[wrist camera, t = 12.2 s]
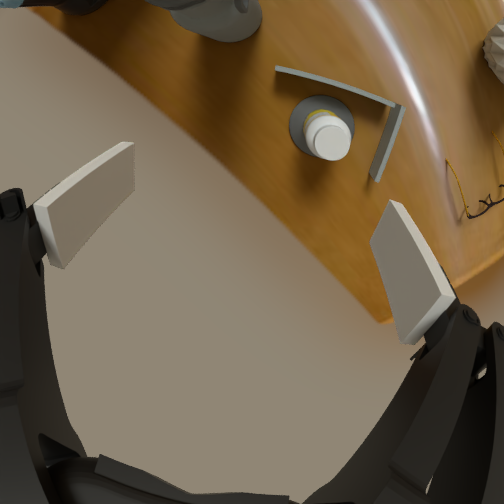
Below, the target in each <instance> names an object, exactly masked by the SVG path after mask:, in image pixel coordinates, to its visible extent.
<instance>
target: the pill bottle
mask: <svg viewBox="0 0 504 504" xmlns="http://www.w3.org/2000/svg"><path fill="white" fill-rule="evenodd" d="M303 132H304V135H305V139H306V142H307V145H308V147H309V149H310V150H311V152H312V153H313V154H315V155H316V156H318V157H320V158H322V159H326V160H331V161H335V160H339V159H341V158H343V157H344V156H345V155H346V154H347V153H348V151H349V148H350V143H351V133H350V130H349V128H348V126H347V125H346V124H345V123H344V122H343V121H342V120H341V119H340V118H339V117H338V116H337V115H336V114H334V113H333V112H331V111H329V110H325V109H317V110H314V111H312V112H310V113H309V114H308V115H307V116H306V118H305V120H304V123H303Z"/></svg>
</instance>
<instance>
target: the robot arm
mask: <svg viewBox="0 0 504 504" xmlns="http://www.w3.org/2000/svg"><path fill="white" fill-rule="evenodd" d="M107 1H108V0H0V8H17V7H32V6H53V7H55V8H57V9H58V10H60V11H62V12H64V13H65V14H68V15H85V14H89V13H91V12H93V11H95V10H97V9H98V8H100V7H101V6H102V5H103V4H105V3H106V2H107ZM133 191H134V143H132V142H120V143H119V144H117V145H115V146H114V147H112V148H111V149H109V150H107V151H106V152H104V153H102V154H101V155H99V156H98V157H96V158H95V159H93V160H92V161H90V162H89V163H87V164H86V165H84V166H83V167H81V168H80V169H78V170H77V171H75V172H74V173H73V174H71V175H70V176H69V177H67V178H66V179H64V180H63V181H62V182H60V183H58V184H57V185H55V186H54V187H53V188H52V189H51V190H49V191H48V192H46V193H45V195H43V196H41V197H40V198H39V199H38V200H37V201H35V202H34V203H33V204H32V205H31V206H29V207H28V208H26V205H25V200H24V196H23V191H22V189H20V188H13V189H9V190H7V191H5V192H3V193H1V194H0V504H299V503H296V502H294V501H291V500H289V496H285V495H283V496H282V495H265V494H253V493H243V492H241V493H240V492H239V493H237V492H235V493H232V492H231V493H210V494H192V493H188V492H186V491H184V490H182V489H180V488H178V487H176V486H174V485H172V484H170V483H168V482H166V481H164V480H162V479H161V478H159V477H157V476H154V475H152V474H150V473H148V472H145V471H143V470H140V469H137V468H135V467H132V466H129V465H126V464H124V463H121V462H118V461H116V460H113V459H111V458H109V457H106V456H104V455H102V454H100V455H99V458H96V457H87V455H86V452H85V450H84V447H83V445H82V443H81V441H80V439H79V437H78V435H77V434H76V432H75V431H74V429H73V428H72V426H71V424H70V422H69V419H68V417H67V413H66V410H65V407H64V403H63V399H62V396H61V392H60V388H59V384H58V380H57V375H56V370H55V366H54V360H53V355H52V349H51V343H50V337H49V329H48V321H47V312H46V301H45V285H44V265H43V262H42V258H43V256H44V255H45V254H46V253H47V256H48V259H49V262H50V265H53V266H55V267H58V268H61V269H65V267H66V266H67V265H68V263H69V262H70V261H71V260H72V258H73V257H74V256H75V255H76V254H77V252H78V251H79V250H80V249H81V247H82V246H83V245H84V244H85V243H86V242H87V240H88V239H89V238H90V237H91V236H92V235H93V233H94V232H95V231H96V230H97V229H98V228H99V227H100V226H101V224H103V222H104V221H105V220H106V219H107V218H108V217H109V216H110V215H111V214H112V213H113V212H114V211H115V210H116V209H117V207H118V206H119V205H120V204H121V203H122V202H123V201H124V200H125V199H126V198H127V197H128V196H129V195H130V194H131V193H132V192H133ZM369 243H370V246H371V248H372V251H373V254H374V257H375V260H376V263H377V265H378V268H379V271H380V274H381V277H382V281H383V284H384V287H385V290H386V293H387V297H388V300H389V303H390V307H391V310H392V314H393V317H394V321H395V325H396V329H397V332H398V336H399V340H400V344H412V345H415V344H416V343H417V342H418V341H419V340H420V339H421V338H422V337H423V335H424V338H425V341H426V343H425V344H424V345H423V346H422V348H420V349H419V350H418V351H417V352H416V353H415V354H414V355H413V356H412V357H411V358H410V360H413V359H414V358H415V360H414V362H413V364H412V366H411V368H410V370H409V372H408V373H407V375H406V377H405V379H404V381H403V382H402V384H401V386H400V388H399V389H398V391H397V393H396V394H395V396H394V398H393V399H392V401H391V402H390V404H389V406H388V407H387V409H386V410H385V412H384V413H383V415H382V417H381V418H380V420H379V421H378V422H377V424H376V425H375V427H374V428H373V430H372V431H371V432H370V434H369V435H368V436H367V438H366V439H365V441H364V442H363V444H362V445H361V446H360V447H359V448H358V450H357V451H356V452H355V454H354V455H353V456H352V457H351V459H350V460H349V461H348V462H347V463H346V465H345V466H344V467H343V468H342V469H341V470H340V472H339V473H338V474H337V475H336V476H335V477H334V478H333V479H332V480H331V481H330V482H329V483H327V484H325V485H324V486H322V487H321V488H319V489H318V490H317V491H316V492H314V493H313V494H312V495H311V496H310V497H308V498H307V499H306V500H305V502H303V503H302V504H504V326H502V325H501V324H500V323H498V322H494V323H493V324H492V325H491V326H490V327H489V328H488V329H486V328H484V327H482V326H481V324H480V320H479V318H478V316H477V314H476V313H475V312H474V311H473V310H472V308H470V307H469V306H467V305H465V304H460V302H459V299H458V297H457V295H456V293H455V291H454V289H453V287H452V285H451V284H450V281H449V279H448V277H446V276H447V275H446V273H445V272H444V270H443V268H442V266H441V265H440V264H439V263H438V262H437V260H436V258H435V256H434V255H433V253H432V251H431V249H430V248H429V246H428V244H427V243H426V241H425V239H424V238H423V236H422V234H421V233H420V231H419V229H418V228H417V226H416V225H415V223H414V222H413V220H412V218H411V217H410V215H409V214H408V212H407V211H406V209H405V208H404V206H403V205H402V204H401V203H398V202H396V201H393V200H389V202H388V204H387V206H386V208H385V211H384V213H383V215H382V217H381V219H380V221H379V223H378V225H377V227H376V230H375V232H374V234H373V236H372V238H371V240H370V242H369ZM486 367H487V369H486V373H485V375H484V376H483V377H481V378H480V379H478V374H479V373H480V372H481V371H482V370H484V369H485V368H486ZM432 476H433V478H432ZM431 478H432V481H431V484H430V487H429V490H428V493H427V494H426V488H427V485H428V484H429V482H430V480H431Z"/></svg>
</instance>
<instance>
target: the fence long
mask: <svg viewBox="0 0 504 504" xmlns="http://www.w3.org/2000/svg"><path fill="white" fill-rule="evenodd" d="M275 70H276V71H281V72H285V73H290V74H294V75H298V76H302V77H306V78H310V79H313V80H317V81H320V82H324V83H327V84H330V85H334V86H337V87H340V88H343V89H346V90H349V91H352V92H355V93H358V94H360V95H363V96H366V97H368V98H371V99H374V100H376V101H379V102H381V103H384V104H386V105H388V106H391V107H393V108H394V107H395V104H396V103H393V102H391V101H389V100H386V99H384V98H381V97H379V96H376V95H374V94H371V93H369V92H366V91H363V90H361V89H358V88H355V87H352V86H349V85H346V84H343V83H340V82H337V81H334V80H331V79H328V78H324V77H321V76H317V75H314V74H310V73H306V72H302V71H298V70H294V69H290V68H286V67H281V66H276V68H275Z"/></svg>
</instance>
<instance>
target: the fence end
mask: <svg viewBox="0 0 504 504" xmlns="http://www.w3.org/2000/svg"><path fill="white" fill-rule="evenodd" d="M393 103H394V102H393ZM405 109H406V107H404V106H401V105H399V104H395V107H394V108H393V107H391V110H390V114H389V117H388V120H387V123H386V126H385V129H384V132H383V135H382V137H381V140H380V143H379V146H378V149H377V152H376V154H375V157H374V160H373V162H372V165H371V168H370V170H369V173H370V175H371V176H372V178H373V179H374V181H376V182H379V180H380V178H381V175H382V173H383V170H384V168H385V165H386V163H387V160H388V157H389V155H390V152H391V149H392V147H393V144H394V141H395V138H396V136H397V133H398V130H399V127H400V124H401V121H402V118H403V115H404V112H405Z"/></svg>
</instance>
